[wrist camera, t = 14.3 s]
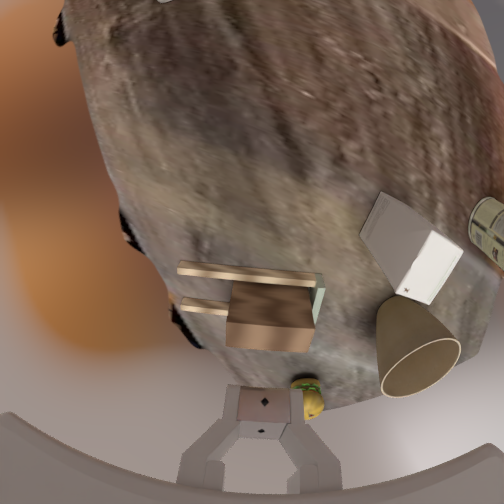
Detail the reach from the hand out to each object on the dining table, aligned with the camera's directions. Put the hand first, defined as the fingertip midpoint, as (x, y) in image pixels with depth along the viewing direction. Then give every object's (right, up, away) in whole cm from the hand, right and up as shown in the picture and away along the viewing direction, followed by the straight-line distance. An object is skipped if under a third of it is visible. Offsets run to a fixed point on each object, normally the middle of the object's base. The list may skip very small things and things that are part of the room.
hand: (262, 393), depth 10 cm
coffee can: (+44, +12, +27) cm, 53 cm away
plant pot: (+27, -5, +37) cm, 46 cm away
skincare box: (+20, +11, +29) cm, 37 cm away
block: (+3, -1, +36) cm, 36 cm away
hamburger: (+12, -24, +48) cm, 55 cm away
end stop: (+10, -2, +36) cm, 37 cm away
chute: (-1, -1, +36) cm, 36 cm away
